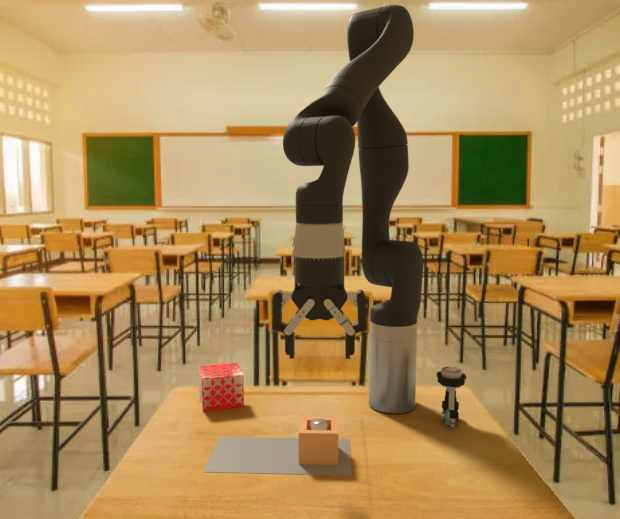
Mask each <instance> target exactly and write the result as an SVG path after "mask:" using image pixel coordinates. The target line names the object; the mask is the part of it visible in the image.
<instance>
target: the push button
mask: <svg viewBox="0 0 620 519" xmlns="http://www.w3.org/2000/svg"><path fill="white" fill-rule="evenodd" d="M436 377H437V383H439V385H441V386H442V387H443V388H445V394H444V400H442V401H441V408H442V411H441V421H443V419H444V422H445V425H446V426H448V427H450V428H456V427H457V422H459V419H460V417H459V416H460V415H459V409H460V403H459V401H458V400H457V389H459V388H461V387H462V386H464V385H465V384H466V382H465V381H466V380H467V375H466V374H465V373H463V372H462V369H461V368H460V367H455V366H443V367H442V368H441V370H440V371H438V372H436Z"/></svg>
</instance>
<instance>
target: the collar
mask: <svg viewBox="0 0 620 519" xmlns="http://www.w3.org/2000/svg"><path fill="white" fill-rule="evenodd" d="M313 419H325V420H326V421H327V430H311V420H313ZM298 428H299V429H298V438H299V464H311V465H338V439H339V418H338V417H331V416H330V417H328V416H327V417H321V416H320V417H319V416H315V417H314V416H301V417H300V420H299V426H298Z"/></svg>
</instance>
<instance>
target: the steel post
mask: <svg viewBox="0 0 620 519" xmlns="http://www.w3.org/2000/svg"><path fill="white" fill-rule="evenodd" d="M311 430H327V421H326V420H325V419H313V420H311Z"/></svg>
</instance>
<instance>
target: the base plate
mask: <svg viewBox="0 0 620 519" xmlns="http://www.w3.org/2000/svg"><path fill="white" fill-rule="evenodd" d="M351 456H352V455H351V439H350V438H338V465H311V464H299V437H263V436H260V437H259V436H219V437H218V439H217V442H216V443H215V446H214V448H213V450H212V452H211V454H210V457H209V459H208V461H207V463H206V465H205V467H204V469H203V473H214V474H215V473H218V474H220V473H222V474H223V473H224V474H225V473H226V474H260V475H261V474H262V475H263V474H264V475H306V476H307V475H309V476H347V477H349V476H350V477H351V476H353V473H352V457H351Z"/></svg>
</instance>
